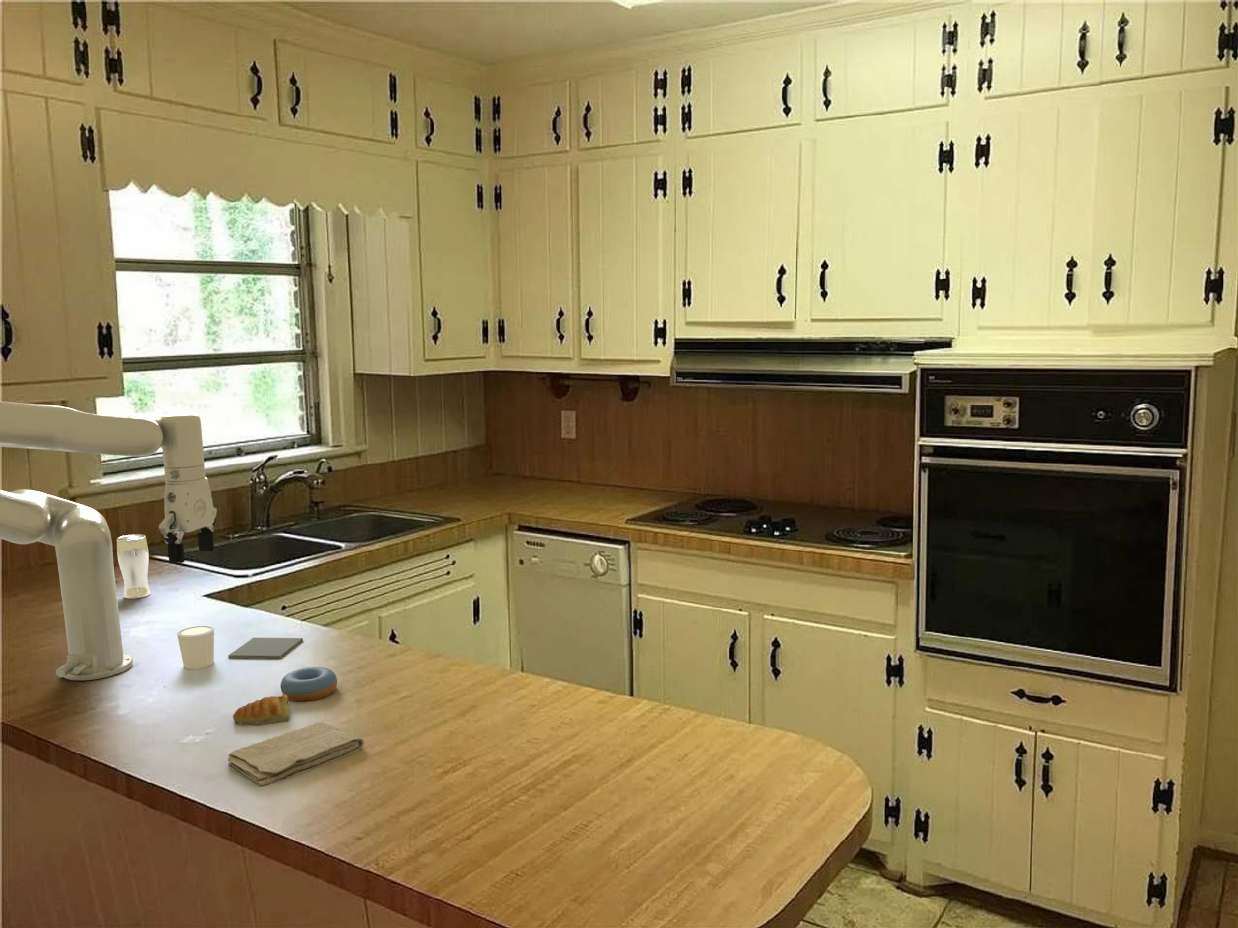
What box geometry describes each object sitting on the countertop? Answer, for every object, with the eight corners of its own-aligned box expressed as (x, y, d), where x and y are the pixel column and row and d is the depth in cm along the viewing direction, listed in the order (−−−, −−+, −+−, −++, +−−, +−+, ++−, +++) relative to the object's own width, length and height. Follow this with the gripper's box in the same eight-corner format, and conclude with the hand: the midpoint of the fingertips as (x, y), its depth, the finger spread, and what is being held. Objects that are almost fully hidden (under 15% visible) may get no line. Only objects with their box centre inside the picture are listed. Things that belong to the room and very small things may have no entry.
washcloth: (223, 769, 157) (221, 750, 156) (324, 731, 170) (323, 713, 169) (262, 792, 149) (260, 773, 148) (365, 750, 162) (364, 732, 162)
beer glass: (158, 593, 255) (152, 535, 252) (132, 601, 249) (126, 541, 246) (142, 590, 258) (136, 533, 256) (116, 597, 253) (109, 538, 250)
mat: (280, 658, 204) (280, 655, 204) (228, 658, 206) (228, 655, 206) (302, 640, 215) (302, 637, 215) (253, 640, 216) (253, 637, 216)
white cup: (204, 670, 199) (200, 636, 198) (172, 669, 200) (169, 635, 199) (224, 658, 205) (221, 625, 204) (193, 657, 207) (190, 624, 206)
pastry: (233, 731, 170) (231, 709, 170) (234, 716, 176) (232, 695, 176) (291, 722, 173) (290, 701, 173) (290, 708, 180) (288, 687, 179)
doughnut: (268, 694, 185) (269, 670, 184) (314, 680, 193) (315, 657, 192) (302, 711, 179) (302, 687, 178) (348, 696, 187) (348, 672, 186)
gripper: (174, 481, 195) (181, 567, 198) (226, 467, 212) (233, 547, 215) (140, 481, 197) (148, 566, 199) (195, 467, 214) (201, 546, 216)
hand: (192, 556), depth 207 cm, fingers open, 9 cm apart
